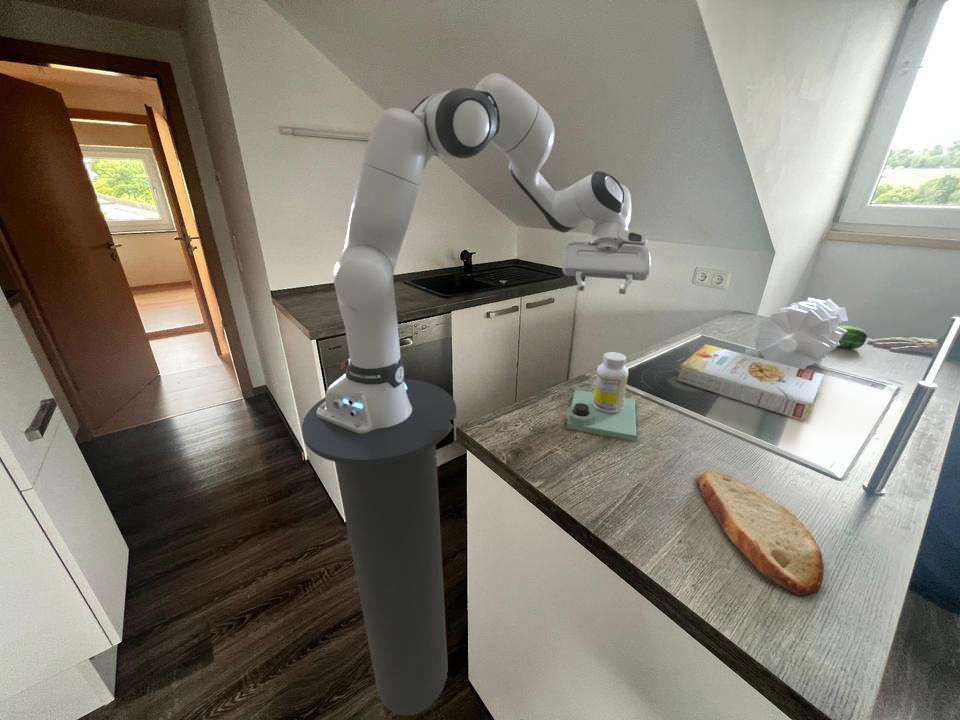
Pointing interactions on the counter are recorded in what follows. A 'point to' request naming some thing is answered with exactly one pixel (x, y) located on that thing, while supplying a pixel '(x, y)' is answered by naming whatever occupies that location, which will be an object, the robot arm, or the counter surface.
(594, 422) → the scale
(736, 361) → the cereal box
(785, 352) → the spiral staircase
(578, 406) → the button
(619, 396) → the supplement bottle
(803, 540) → the bread slice
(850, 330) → the vegetable
